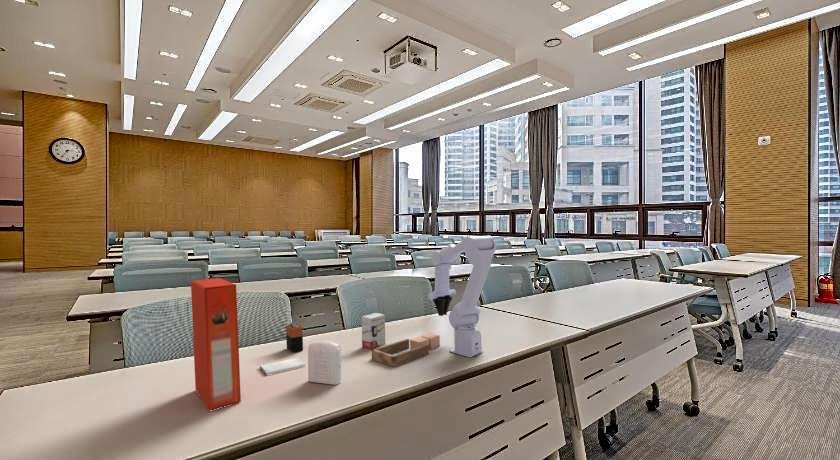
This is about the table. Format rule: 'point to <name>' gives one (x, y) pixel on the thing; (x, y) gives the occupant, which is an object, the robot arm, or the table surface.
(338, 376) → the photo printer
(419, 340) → the tile front
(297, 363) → the hard drive
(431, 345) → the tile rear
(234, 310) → the file binder
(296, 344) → the battery
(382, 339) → the ink box
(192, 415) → the table surface
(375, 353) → the tray
